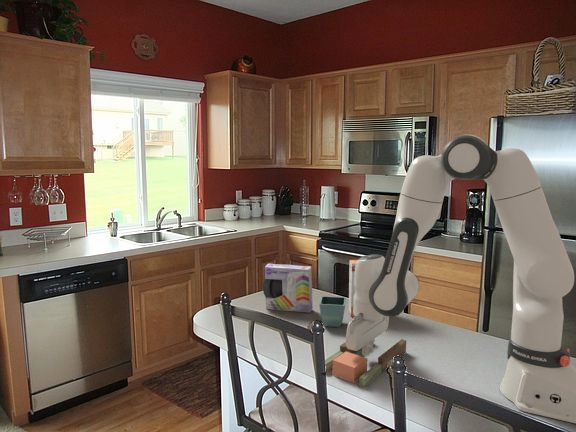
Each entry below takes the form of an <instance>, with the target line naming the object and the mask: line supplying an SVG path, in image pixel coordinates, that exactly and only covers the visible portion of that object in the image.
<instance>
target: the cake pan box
mask: <svg viewBox="0 0 576 432" xmlns="http://www.w3.org/2000/svg"><path fill="white" fill-rule="evenodd" d="M312 271H313V270H312V266H308V265H307V266H306V265H296V264H282V263H281V264H277V263H276V264H275V263H267V264H266V265H265V266H264V280H263V283H262V291H263V295H264V297H265V309H266V310H273V311H274V310H276V311H287V312H295V313H296V312H298V313H311V312H312V311H313V309H314V308H313V307H314V306H313V277H312V276H313V275H312Z"/></svg>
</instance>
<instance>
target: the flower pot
mask: <svg viewBox="0 0 576 432" xmlns="http://www.w3.org/2000/svg"><path fill="white" fill-rule="evenodd" d="M346 300H347V299H346V297H344V296H325V295H322V296H321V299H320V302H319V312H320V318H321V321H322V323H323V325H324V326H325V327H334V328H335V327H336V328H339V327H341V325H342V324H343V321H344V314H345V309H346Z"/></svg>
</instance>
